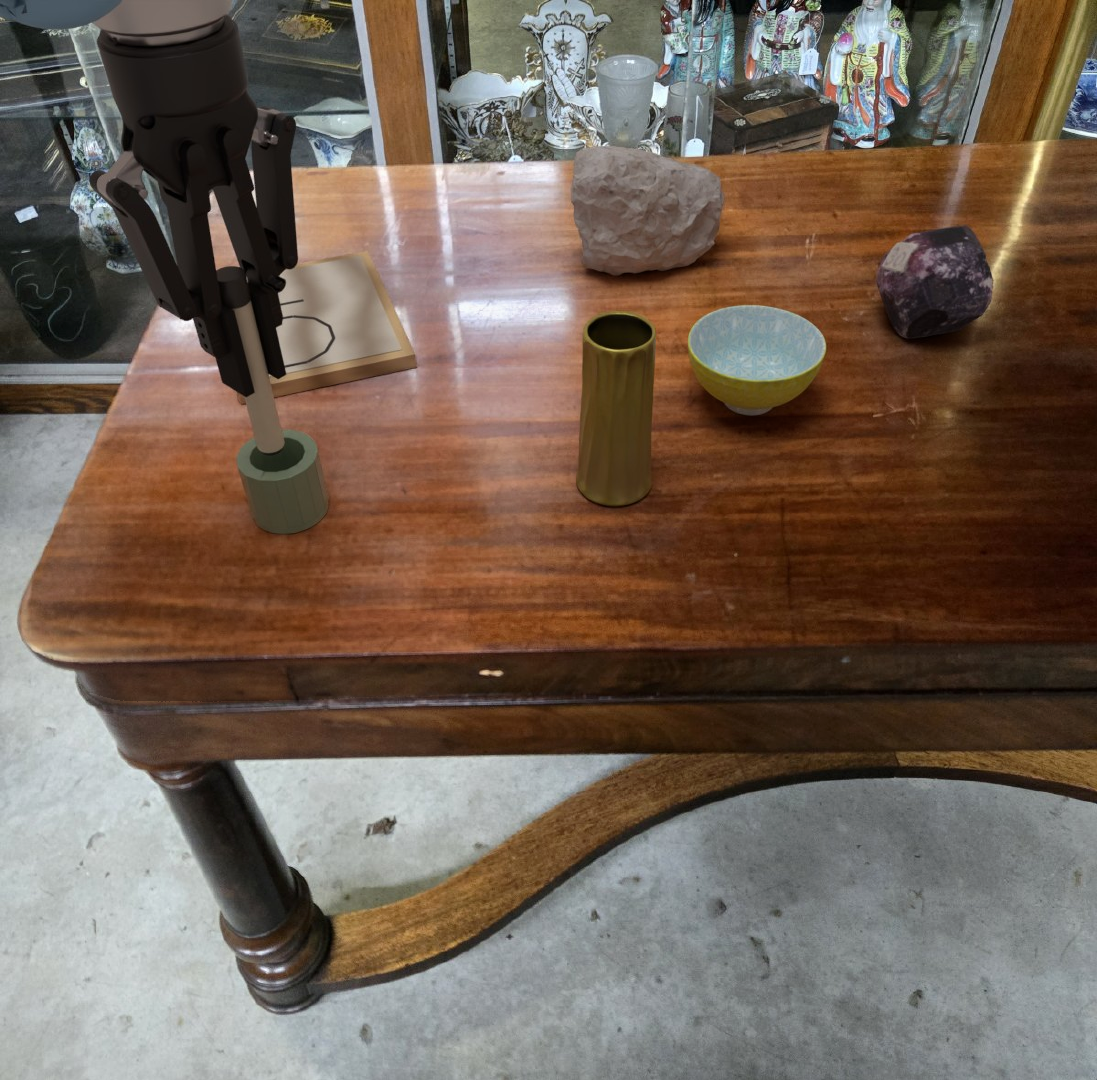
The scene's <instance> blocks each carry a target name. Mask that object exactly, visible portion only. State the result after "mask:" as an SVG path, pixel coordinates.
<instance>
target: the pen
mask: <svg viewBox="0 0 1097 1080" xmlns="http://www.w3.org/2000/svg"><path fill="white" fill-rule="evenodd" d="M216 272H217V279H218V285H219V292H220V298H221V304H222V305H225V306H227V307H229V308H230V309H232V310H234V312H235V316H236V319H237V323H238V327H239V331H240V335H241V339H242V343H243V347H244V351H245V355H246V359H247V363H248V367H249V371H250V375H251V379H252V383H253V387H254V391H255V393H253V394H252V395H250V396H248V397H244V398H245V402H246V403H245V405H246V409H247V413H248V418H249V421H250V424H251V429H252V432H253V436H254V437H255V440H256V444H257V448H258V449H259V450H260V451H261V452H262V453H263V454H264V455H267V456H273V455H276V454H278V453H280V452H281V451H282V449H283V446H284V443H285V442H284V438H283V433H282V430H283V428H282V425H281V421H280V416H279V412H278V409H277V405H276V400H275V397H274V395H273V391H272V387H271V383H270V379H269V374H268V370H267V366H266V362H265V358H264V353H263V349H262V345H261V341H260V336H259V332H258V328H257V324H256V320H255V315H254V311H253V307H252V303H251V295H250V291H249V287H248V283H247V278H246V274H245V271H244V270H243V269H242V268H240V266H236V265H227V266H223V267H220V268H218V269H216Z"/></svg>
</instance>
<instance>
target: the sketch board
mask: <svg viewBox="0 0 1097 1080" xmlns="http://www.w3.org/2000/svg"><path fill="white" fill-rule="evenodd" d="M280 277H282V278H283V279H285V280H286V286H285V288H284V290H283V291H281V292H279V293H278V296H279V300H280V305H281V310H282V314H283V322H282V325H280V326H278V327H277V328H276V330H277V334H278V339H279V343H280V348H281V352H282V357H283V361H284V366H285V370H286V375H285V376H283V377H282V378H280V379H276V378H275V377H273V376H271V375H270V374H269V379H270V383H271V387H272V391H273V395H274V398H277V397H282V396H288V395H293V394H297V393H301V392H306V391H311V390H316V389H320V388H321V389H322V388H324V387H330V386H335V385H339V384H344V383H348V382H354V381H358V380H362V379H367V378H372V377H378V376H382V375H387V374H391V373H396V372H402V371H406V370H411V369H415V368H417V367H418V366H417V365H418V364H417V357H416V353H415V350H414V348H413V346H412V344H411V342H410V339H409V337H408V335H407V333H406V331H405V329H404V326H403V324H402V322H401V320H400V317H399V315H398V313H397V311H396V309H395V306H394V305H393V301H392V300H391V298H390V295H389V294H388V291H387V289H386V286H385V284H384V282H383V279H382V278H381V275H380V273H379V271H378V269H377V267H376V265H375V262H374V260H373V257H372V255H371V253H370V251H369V250H364V251H358V252H354V253H347V254H341V255H336V256H332V257H331V256H330V257H326V258H320V259H315V260H310V261H304V262H298V263H297V265H296V266H295V268H293V269H290V270H289V269H285V270H284V271H283V272H282V273H281V274H280ZM246 278H247V277H246ZM247 282H248V280H247ZM236 394H237V397H238V400H239V404H240V405H244V404H245V405H246V402H245V398H244V396H243V395H241V394H240V393H238V392H236Z"/></svg>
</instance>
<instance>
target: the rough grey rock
mask: <svg viewBox="0 0 1097 1080" xmlns="http://www.w3.org/2000/svg"><path fill="white" fill-rule="evenodd" d="M721 184H722V180H721V177H720V176H719V175H717V174H716V173H714V172H713V171H711V170H710V169H709V168H708V167H703V166H701V165H698V164H694V163H690V162H685V161H679V160H677V159H675V158H670V157H666V156H665V155H661V154H659V153H656V152H652V151H648V150H644V149H640V148H635V147H629V148H627V147H625V146H616V145H605V146H604V145H593V146H590V147H589V146H587V147H586V146H585V147H582V148H581V149H580V150H578V151H577V152H575V154H574V161H573V165H572V182H571V186H570V203H571V204H572V206H573V221H574V224H575V227H576V228H577V231H578V235H579V237H580V240H581V245H582V251H583V252H582V259H581V264H582V265H583V266H584V267H585V268H586V269H590V270H594V271H597V272H599V273H600V272H603V273H607V274H609V275H611V276H621V275H622V274H626V273H630V274H638V273H644V272H646V271H655V270H657V271H660V272H664V271H669V270H671V269H677V268H683V267H687V266H689V265H691V264H693V263H695V262H696V261H697V259H699V258H700V257H702V256H703V255H704V254H705V253H707V252H708V251H710V249H712V247H713V246H714V245H715V239H716V237H717V234H718V232H719V231H720V224H721V223H720V220H721V216H722V212H723V206H724V204H725V193H724V191H723V189H722V185H721Z"/></svg>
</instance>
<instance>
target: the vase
mask: <svg viewBox="0 0 1097 1080" xmlns="http://www.w3.org/2000/svg"><path fill="white" fill-rule="evenodd" d="M581 337H582V343H581V344H582V358H581V359H582V360H581V361H582V362H581V363H582V364H581V399H580V413H579V431H578V433H579V434H578V460H577V461H578V462H577V463H578V466H577V471H576V476H575V484H576V486H577V488H578V490H579V491H580V493H581V494H582V495H583V496H584V497H585V498H587V499H588V500H589V501H591V502H593V503H595V504H598V505H602V506H606V507H607V506H608V507H623V506H624V507H625V506H629V505H632V504H634V503H637V502H639V501H641V499H643V498H645V496H647V495H648V493H649V492H650V490H651V489H652V485H653V476H652V425H653V407H654V406H653V404H654V386H655V384H654V383H655V367H656V366H655V365H656V342H657V341H656V340H657V329H656V327H655V325H654V323H653V322H652V321H651V320H649V319H648V318H646V317H645V316H643V315H641V314H639V313H636V312H633V311H626V310H609V311H605V312H602V313H598V314H596V315H594V316H592V317H591V318H590V319H588V320H587V321H586V323H585V324H584V326H583V329H582V336H581Z"/></svg>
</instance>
